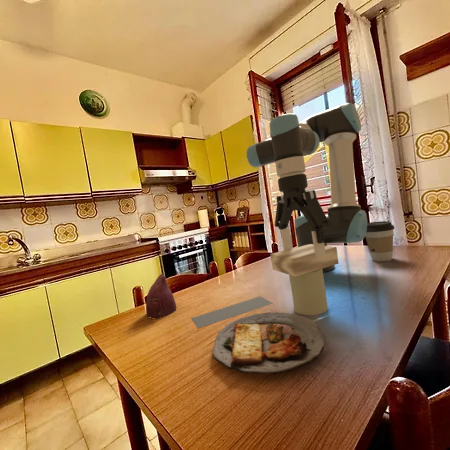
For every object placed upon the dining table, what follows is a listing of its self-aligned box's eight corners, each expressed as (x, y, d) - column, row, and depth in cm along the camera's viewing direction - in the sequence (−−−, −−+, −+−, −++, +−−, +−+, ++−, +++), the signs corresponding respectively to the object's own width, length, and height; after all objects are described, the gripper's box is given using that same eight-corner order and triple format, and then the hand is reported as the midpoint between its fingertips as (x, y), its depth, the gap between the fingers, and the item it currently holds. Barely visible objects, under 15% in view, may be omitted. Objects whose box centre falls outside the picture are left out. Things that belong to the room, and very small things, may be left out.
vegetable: (181, 315, 91) (186, 272, 90) (165, 325, 81) (170, 278, 80) (156, 308, 94) (161, 267, 94) (137, 317, 84) (142, 272, 84)
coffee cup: (360, 258, 112) (356, 224, 111) (386, 254, 112) (382, 220, 111) (376, 264, 100) (371, 226, 99) (405, 259, 100) (400, 221, 99)
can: (329, 301, 74) (323, 261, 73) (327, 316, 66) (321, 270, 65) (296, 301, 78) (290, 263, 77) (291, 315, 70) (284, 272, 69)
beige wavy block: (272, 269, 74) (270, 254, 73) (312, 258, 78) (309, 244, 78) (295, 276, 64) (292, 258, 63) (338, 263, 69) (336, 247, 68)
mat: (191, 319, 78) (191, 318, 78) (260, 297, 87) (260, 296, 86) (198, 329, 70) (198, 328, 70) (273, 304, 79) (272, 303, 79)
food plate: (337, 379, 43) (334, 359, 43) (204, 387, 47) (201, 368, 47) (311, 317, 68) (309, 304, 68) (225, 325, 72) (223, 313, 72)
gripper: (256, 183, 80) (267, 250, 81) (311, 168, 56) (325, 262, 58) (277, 180, 82) (287, 245, 84) (337, 164, 59) (350, 254, 61)
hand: (303, 252), depth 71 cm, fingers open, 13 cm apart
